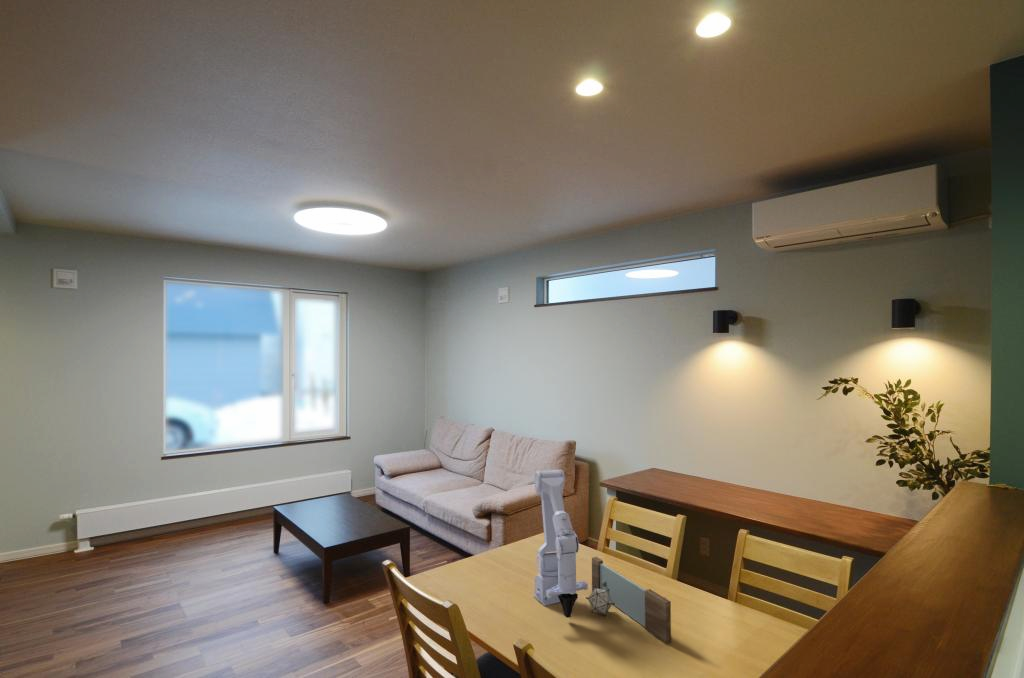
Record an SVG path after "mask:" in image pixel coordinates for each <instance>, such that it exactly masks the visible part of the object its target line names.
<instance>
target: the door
mask: <svg viewBox="0 0 1024 678" xmlns="http://www.w3.org/2000/svg"><path fill="white" fill-rule="evenodd" d="M600 589H602V590H606V591H608V589H610V591H608V592H609V595H610V597H611V600H612V603H615V605H614V606H615V607H616V608H618V609H619V610H620V611H621V612H623V613H624V614H625V615H626V616H628V617H630V618H632V619H633V620H634V621H636V623H638V624H640V625H641V626H643V627H644V628H645V590H646V589H645V588H643V587H642V586H640V585H639V584H637V583H635V582H634V581H632V580H630V579H629V578H627V577H626V576H624V575H622V574H621V573H619V572H618V571H616V570H614V569H612V567H610V566H607V565H606V564H604V562H603V563H601V564H600Z"/></svg>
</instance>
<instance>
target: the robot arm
mask: <svg viewBox="0 0 1024 678" xmlns="http://www.w3.org/2000/svg"><path fill="white" fill-rule="evenodd" d="M565 484H566V476H565V473H564V470H562V469H561V468H560V469H553V470H552V469H551V470H550V469H549V470H539V469H538V470H537V471H535V474H534V486H535V493H536V494H537V495H539V496H540V500H541V513H542V526H543V540H544V543H543V544H541V546H539V548H538V549H537V555H536V564H537V570H538V571H539V574H536V575H535V577H534V594H533V597H534V598H535V599H536V600H537V601H538V602H539V603H540V604H542V605H543V606H544V607H545V606H550V605H554V604H558V603H560V606H561V609H562V612H563V615H564V617H565V618H567V619H568V618H571V616H572V612H573V609H574V606H575V603H576V601H578V600H577V599H578V597H579V595H578V593H577V592H578V591H582V590H584V591H586V590H587V591H588V588H589V585H588V584H589V583H588V582H586V581H584V580H583V581H577V554H578V552H579V550H580V546H579V539H578V538H579V537H578V535H577V534H576V532H575V530H574V529H573V526H572V522H571V517H570V515H569V513H568V512H566V510H565V505H564V499H563V490H564V487H565Z"/></svg>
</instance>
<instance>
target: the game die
mask: <svg viewBox="0 0 1024 678" xmlns="http://www.w3.org/2000/svg"><path fill="white" fill-rule="evenodd" d="M608 591H610V589H608ZM608 591H606V590H602V589H599V588H596V586H595V589H594V591H593V592H592V591H591V594H590V595H589V596H587V597H585V599H586V600H588V602H589V605H590V608H591V611H590V613H591V614H593V613H594V612H595V613H598V614H601V615H604V617H605V618H607V613H608V611H609V610H610V608H611V607H612V605H614V606H615V603H612V600H611V597H610V595H609V592H608Z"/></svg>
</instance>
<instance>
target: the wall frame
mask: <svg viewBox="0 0 1024 678" xmlns="http://www.w3.org/2000/svg"><path fill="white" fill-rule="evenodd" d="M601 563H603V564H604V560H603V559H601V558H599V557H598V556H593V557H591V593H592V592H593V591H594V589H595V586H596V588H599V589H600V564H601ZM671 602H672V601H671V600H668V599H667V598H666V597H664V596H662V595H660V594H659V593H657V592H655V591H654V590H652V589H651V588H649V589H645V627H644V629H645V630H646V631H647V632H648V633H650V634H651V635H652V636H654V637H655V638H656V639H658V640H659V641H660V642H662V643H663V644H664V645H669V644H672V617H671V616H672V614H671V613H672V611H671V607H672V606H671V605H672V604H671Z"/></svg>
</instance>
